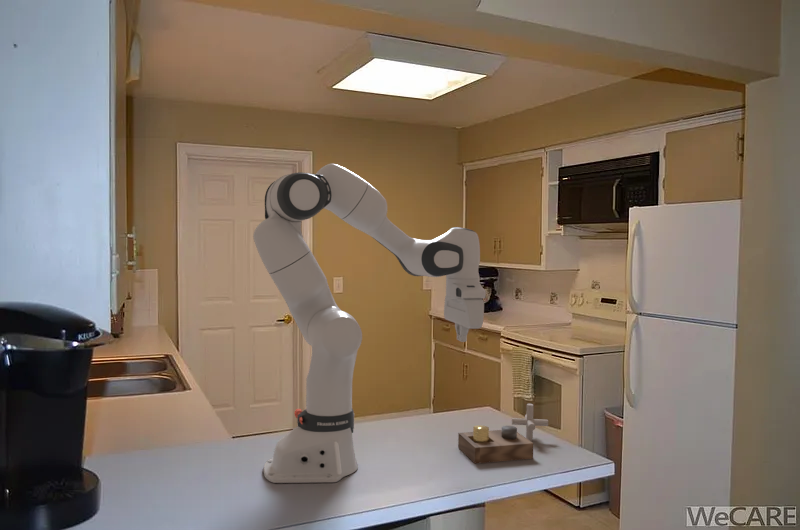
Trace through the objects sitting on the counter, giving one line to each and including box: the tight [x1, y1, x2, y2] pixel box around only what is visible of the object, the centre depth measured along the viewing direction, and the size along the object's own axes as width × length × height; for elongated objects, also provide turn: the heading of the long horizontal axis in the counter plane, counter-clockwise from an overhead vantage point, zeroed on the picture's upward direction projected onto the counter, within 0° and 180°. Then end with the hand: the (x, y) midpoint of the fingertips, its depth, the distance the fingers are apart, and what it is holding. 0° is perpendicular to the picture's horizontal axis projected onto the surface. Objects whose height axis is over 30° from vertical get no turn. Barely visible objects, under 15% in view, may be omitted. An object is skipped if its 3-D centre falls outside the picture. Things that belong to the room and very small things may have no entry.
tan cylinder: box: [472, 424, 490, 443], centre depth 158 cm, size 4×4×7 cm
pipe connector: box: [511, 403, 549, 442], centre depth 170 cm, size 10×10×10 cm
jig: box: [457, 425, 534, 465], centre depth 158 cm, size 16×12×6 cm
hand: (461, 341), depth 160 cm, fingers closed
